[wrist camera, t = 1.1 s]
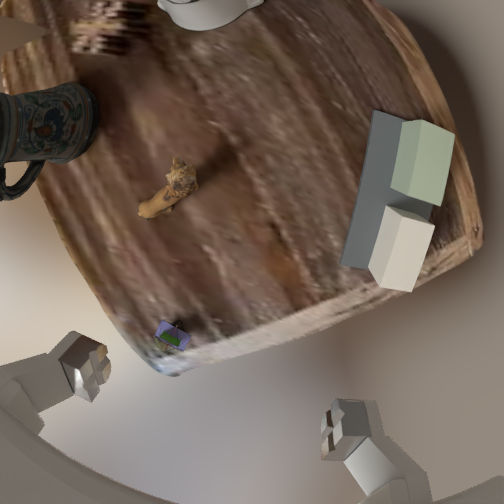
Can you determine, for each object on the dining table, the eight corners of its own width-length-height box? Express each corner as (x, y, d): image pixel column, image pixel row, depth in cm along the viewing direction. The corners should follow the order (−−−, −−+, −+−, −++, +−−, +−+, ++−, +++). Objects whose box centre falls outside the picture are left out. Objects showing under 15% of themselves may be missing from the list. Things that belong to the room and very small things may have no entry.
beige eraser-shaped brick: (385, 205, 40) (402, 216, 33) (416, 213, 39) (435, 225, 33) (367, 266, 44) (379, 286, 38) (397, 272, 44) (411, 292, 37)
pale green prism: (402, 122, 34) (421, 119, 28) (432, 134, 34) (454, 134, 28) (390, 187, 39) (407, 195, 32) (420, 196, 38) (440, 206, 32)
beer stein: (90, 68, 36) (-10, 52, 13) (115, 150, 42) (4, 172, 19) (41, 112, 40) (-48, 122, 17) (63, 187, 46) (-30, 224, 23)
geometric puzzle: (166, 307, 51) (147, 342, 47) (197, 324, 51) (179, 360, 47) (166, 314, 57) (149, 345, 53) (194, 329, 58) (178, 361, 54)
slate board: (372, 110, 35) (374, 109, 34) (443, 137, 35) (446, 137, 34) (339, 262, 45) (340, 264, 44) (407, 275, 45) (409, 277, 44)
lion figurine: (194, 150, 41) (172, 152, 33) (216, 173, 42) (199, 181, 34) (140, 209, 46) (113, 223, 38) (159, 230, 47) (135, 248, 39)
